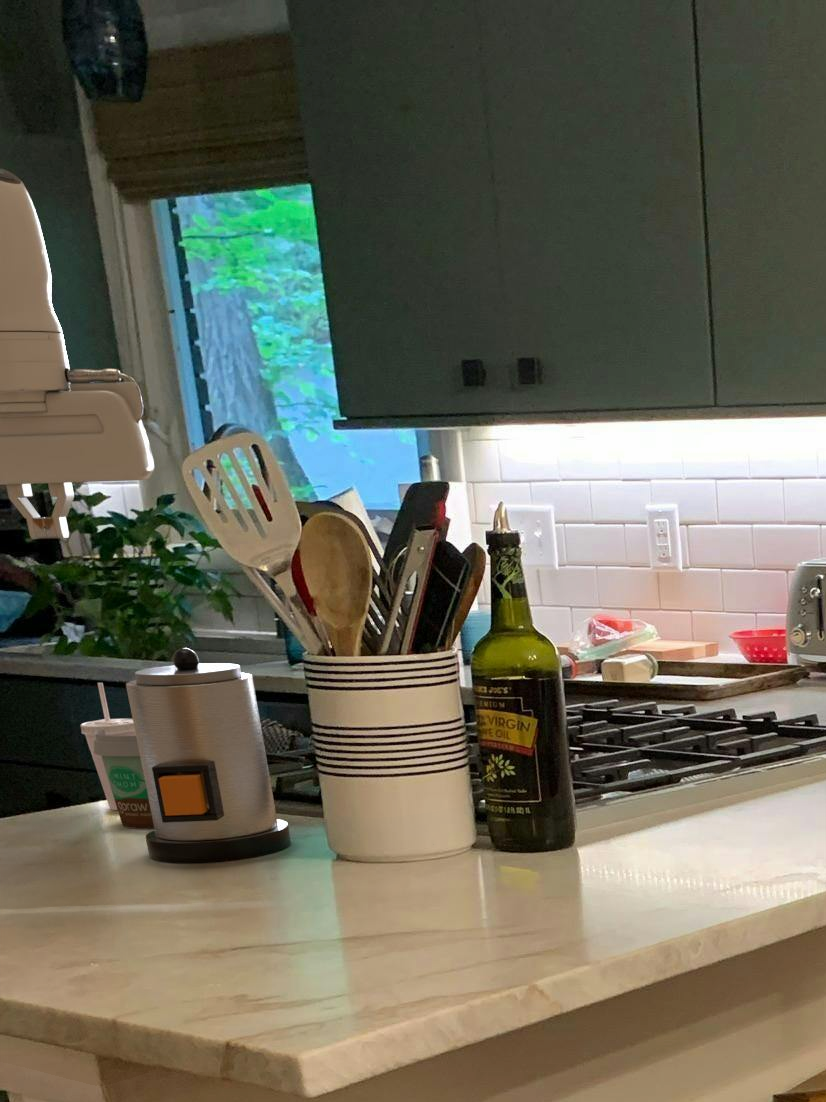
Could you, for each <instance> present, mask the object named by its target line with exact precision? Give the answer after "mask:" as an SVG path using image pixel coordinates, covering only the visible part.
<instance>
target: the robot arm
mask: <svg viewBox="0 0 826 1102" xmlns="http://www.w3.org/2000/svg"><path fill="white" fill-rule="evenodd" d="M52 279H53V278H52V272H51V267H50V262H49V257H48V253H47V249H46V244H45V240H44V236H43V231H42V227H41V223H40V219H39V217H38V214H37V211H36V207H35V205H34V202H33V200H32V197H31V195H30V193H29V191H28V189H27V188H26V186H25V184H24V182H23V181H22V180H21V179H20V178H19V177H18V176H17V175H15V174H14V173H12V172H10V171H8V170H7V169H4V168H0V486H1V485H2V486H4V485H5V487H6V491H7V496H8V499H9V500H10V502H11V503H12V504H13V505H14V507H15V508H16V509H17V510H18V512H19V513H20V514H21V516H22V517H23V518H24V519H25V520H26V524H27V528H28V532H29V537H30V539H32V540H43V539H44V540H47V539H68V538H69V537H70V531H69V526H68V521H67V517H68V515H69V513H70V510H71V506H72V503H73V501H74V498H75V492H74V488H73V483H97V482H98V483H99V482H128V481H133V482H134V481H147V480H149V479H150V478H151V477H152V474H153V472H154V471H155V460H154V457H153V452H152V448H151V445H150V441H149V438H148V435H147V431H146V428H145V425H144V422H143V420H142V418H143V415H144V404H143V399H142V394H141V390H140V387H139V385H138V383H137V382H136V381H135V380H134V378H132V377H131V376H130V375H128V374H126V373H122V372H121V370H119V369H118V368H111V367H109V368H107V367H106V368H103V369H88V368H70V364H69V359H68V354H67V350H66V345H65V344H66V343H65V339H64V334H63V329H62V327H61V324H60V322H59V320H58V317H57V315H56V313H55V311H54V310H55V309H54V307H53V303H52V282H53V281H52ZM122 379H123V380H126V381H122ZM35 484H36V485H37V484H47V485H48V486H47V487H48V491H49V496H50V497H51V498H56V501H55V504H54V507H53V511H52V514H51V516H42V517H41V515H40V514H39V513H38V511H37V510H36V509H35V507H34V505H33V504H32V503H31V502H30V500H29V499H28V498H32V497H33V496H34V494H33V490H32V485H35Z"/></svg>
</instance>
